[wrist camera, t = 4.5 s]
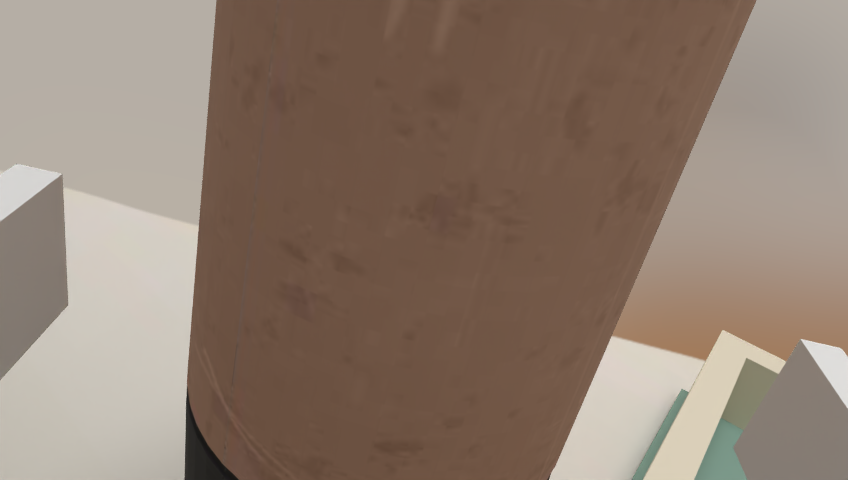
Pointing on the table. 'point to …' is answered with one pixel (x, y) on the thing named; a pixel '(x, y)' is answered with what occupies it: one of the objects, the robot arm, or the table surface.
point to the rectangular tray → (712, 415)
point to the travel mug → (429, 224)
